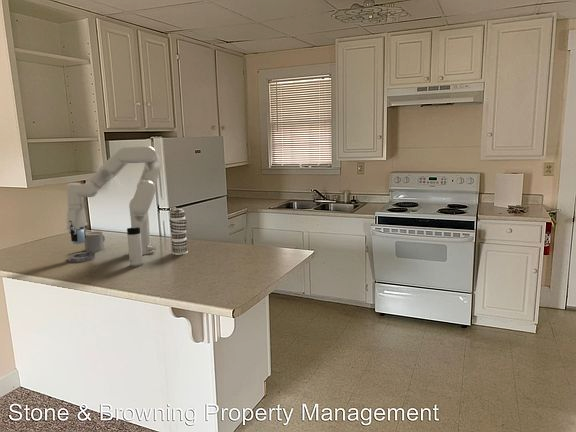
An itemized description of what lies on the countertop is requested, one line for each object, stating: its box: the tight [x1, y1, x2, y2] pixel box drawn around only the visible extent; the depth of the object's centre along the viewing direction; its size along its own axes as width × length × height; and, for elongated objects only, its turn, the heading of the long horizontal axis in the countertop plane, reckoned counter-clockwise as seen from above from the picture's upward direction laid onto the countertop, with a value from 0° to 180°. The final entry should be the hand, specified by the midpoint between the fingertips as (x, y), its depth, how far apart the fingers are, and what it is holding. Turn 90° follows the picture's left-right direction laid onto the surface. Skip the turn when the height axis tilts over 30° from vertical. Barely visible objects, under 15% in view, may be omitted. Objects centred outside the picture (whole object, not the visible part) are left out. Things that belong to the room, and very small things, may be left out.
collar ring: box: [67, 251, 96, 263], centre depth 234 cm, size 13×13×2 cm
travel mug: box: [126, 227, 144, 268], centre depth 219 cm, size 6×7×20 cm
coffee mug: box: [84, 230, 106, 253], centre depth 252 cm, size 13×10×10 cm
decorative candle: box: [169, 207, 189, 256], centre depth 240 cm, size 9×9×25 cm
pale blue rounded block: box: [72, 228, 85, 245], centre depth 231 cm, size 6×6×7 cm
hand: (78, 239), depth 232 cm, fingers closed on pale blue rounded block, 6 cm apart
